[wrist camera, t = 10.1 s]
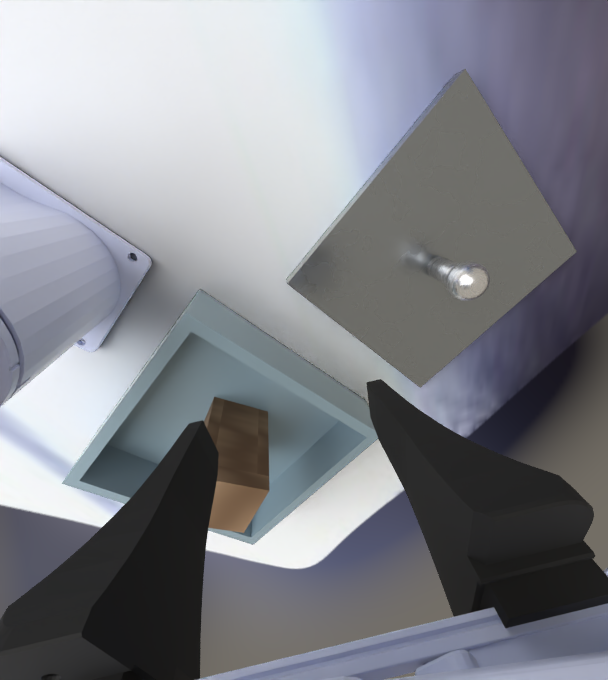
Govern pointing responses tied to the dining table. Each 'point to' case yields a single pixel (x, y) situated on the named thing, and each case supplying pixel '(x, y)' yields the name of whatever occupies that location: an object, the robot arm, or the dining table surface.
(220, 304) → the bin
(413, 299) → the stud base
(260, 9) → the dining table surface
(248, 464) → the brown wooden block
